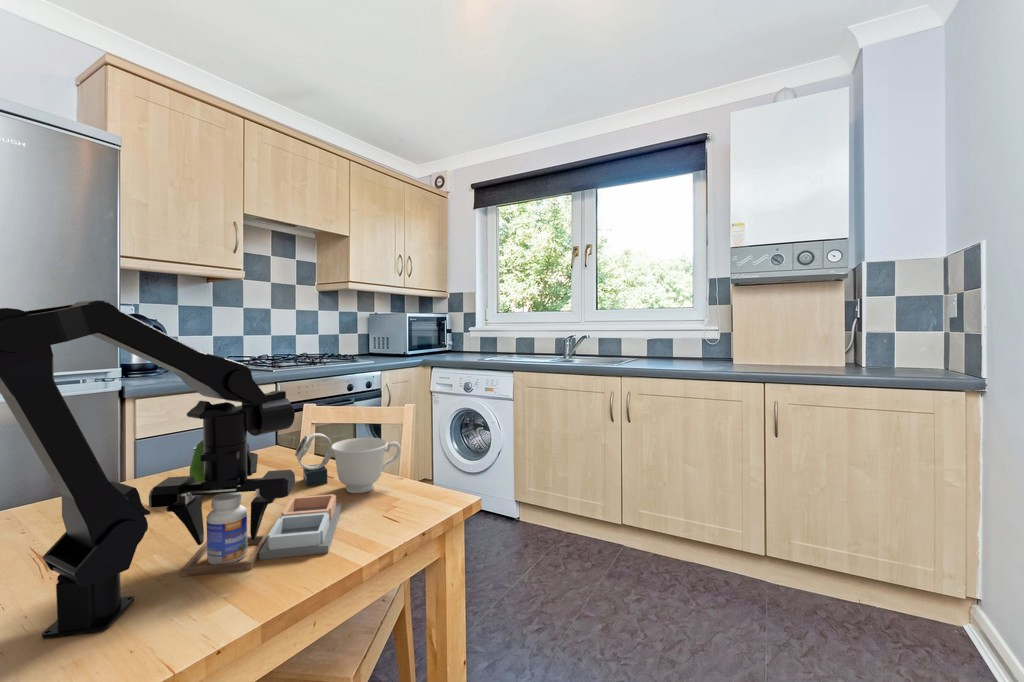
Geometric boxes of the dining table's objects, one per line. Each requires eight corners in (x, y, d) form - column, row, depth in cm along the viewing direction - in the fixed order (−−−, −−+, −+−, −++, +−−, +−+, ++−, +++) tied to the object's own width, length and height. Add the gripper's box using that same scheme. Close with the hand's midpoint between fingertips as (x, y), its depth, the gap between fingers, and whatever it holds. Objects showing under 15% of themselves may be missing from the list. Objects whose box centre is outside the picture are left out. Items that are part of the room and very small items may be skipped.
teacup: (405, 492, 101) (404, 447, 100) (331, 502, 95) (330, 453, 95) (397, 475, 112) (397, 434, 111) (330, 483, 106) (330, 440, 106)
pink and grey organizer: (328, 552, 74) (327, 533, 74) (259, 559, 72) (259, 539, 72) (341, 508, 92) (341, 492, 92) (286, 513, 89) (286, 497, 89)
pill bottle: (229, 568, 70) (227, 504, 69) (198, 564, 71) (197, 501, 70) (255, 550, 75) (254, 491, 74) (227, 547, 76) (226, 488, 76)
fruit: (196, 489, 102) (194, 435, 102) (237, 485, 105) (236, 432, 104) (185, 502, 95) (183, 444, 94) (229, 497, 98) (228, 440, 97)
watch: (294, 481, 108) (293, 434, 107) (330, 475, 112) (330, 429, 111) (297, 488, 103) (296, 439, 102) (335, 482, 107) (335, 434, 107)
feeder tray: (251, 568, 69) (251, 562, 69) (181, 576, 67) (180, 569, 67) (268, 540, 78) (268, 534, 78) (206, 546, 76) (206, 540, 76)
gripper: (301, 428, 82) (302, 515, 83) (180, 433, 78) (183, 525, 78) (286, 444, 71) (287, 544, 72) (145, 451, 67) (148, 557, 67)
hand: (227, 541), depth 73 cm, fingers open, 7 cm apart
